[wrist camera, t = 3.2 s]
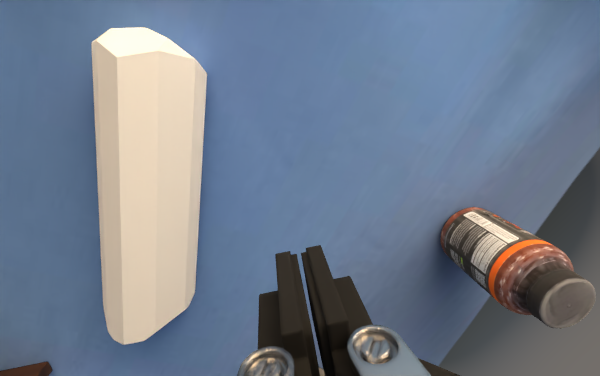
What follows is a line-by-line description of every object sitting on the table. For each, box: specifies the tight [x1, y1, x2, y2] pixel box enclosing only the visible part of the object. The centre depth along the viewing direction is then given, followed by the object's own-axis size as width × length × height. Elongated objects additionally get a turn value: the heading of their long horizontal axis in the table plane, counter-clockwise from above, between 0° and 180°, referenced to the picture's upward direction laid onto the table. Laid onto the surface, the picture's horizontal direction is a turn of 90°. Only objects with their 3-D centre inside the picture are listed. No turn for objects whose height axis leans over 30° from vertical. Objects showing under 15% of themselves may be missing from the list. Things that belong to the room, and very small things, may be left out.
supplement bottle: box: [441, 207, 596, 329], centre depth 26 cm, size 6×6×11 cm
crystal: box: [91, 28, 207, 345], centre depth 24 cm, size 7×7×24 cm
